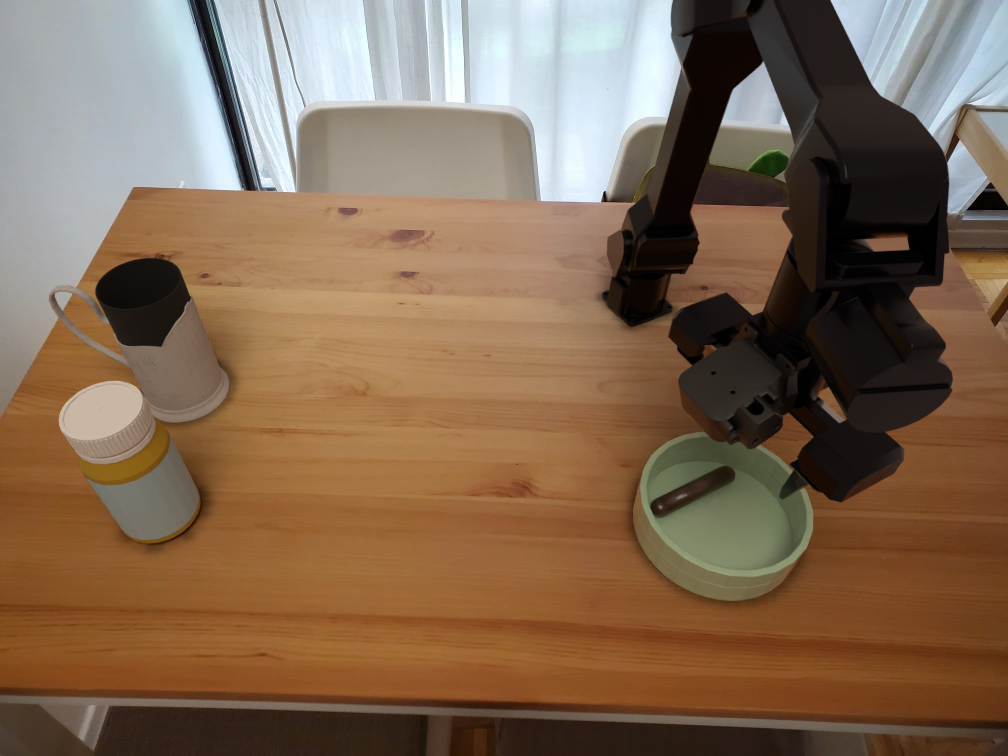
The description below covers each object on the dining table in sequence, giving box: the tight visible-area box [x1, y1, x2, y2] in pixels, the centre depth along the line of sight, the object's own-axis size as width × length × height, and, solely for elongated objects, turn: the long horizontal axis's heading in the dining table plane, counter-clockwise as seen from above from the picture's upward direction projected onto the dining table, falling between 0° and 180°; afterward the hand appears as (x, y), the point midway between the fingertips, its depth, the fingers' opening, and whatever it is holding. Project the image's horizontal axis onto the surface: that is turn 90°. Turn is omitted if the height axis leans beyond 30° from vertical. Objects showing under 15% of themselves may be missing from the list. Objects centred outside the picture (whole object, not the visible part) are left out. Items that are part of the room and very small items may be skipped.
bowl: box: [632, 431, 814, 602], centre depth 66 cm, size 15×15×4 cm
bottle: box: [58, 380, 202, 544], centre depth 61 cm, size 7×7×15 cm
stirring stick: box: [650, 465, 735, 517], centre depth 69 cm, size 10×2×2 cm, turn 119°
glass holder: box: [48, 257, 231, 424], centre depth 72 cm, size 9×14×15 cm, turn 85°
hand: (745, 454), depth 60 cm, fingers open, 9 cm apart
